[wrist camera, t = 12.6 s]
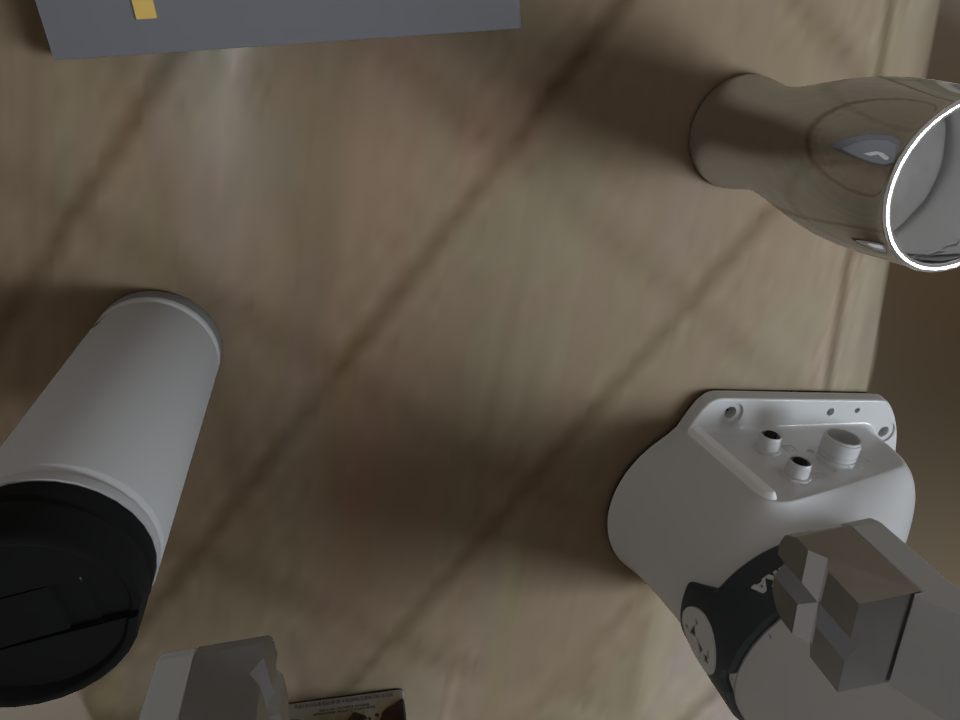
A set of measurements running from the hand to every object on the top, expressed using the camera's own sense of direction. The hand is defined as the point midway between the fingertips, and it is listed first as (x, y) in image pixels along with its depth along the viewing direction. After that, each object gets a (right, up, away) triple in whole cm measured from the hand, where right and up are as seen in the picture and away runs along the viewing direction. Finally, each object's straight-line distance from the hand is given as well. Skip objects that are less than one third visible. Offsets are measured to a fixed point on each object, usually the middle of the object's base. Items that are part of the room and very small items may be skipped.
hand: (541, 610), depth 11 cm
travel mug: (-18, +5, +25) cm, 32 cm away
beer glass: (+13, +17, +27) cm, 35 cm away
